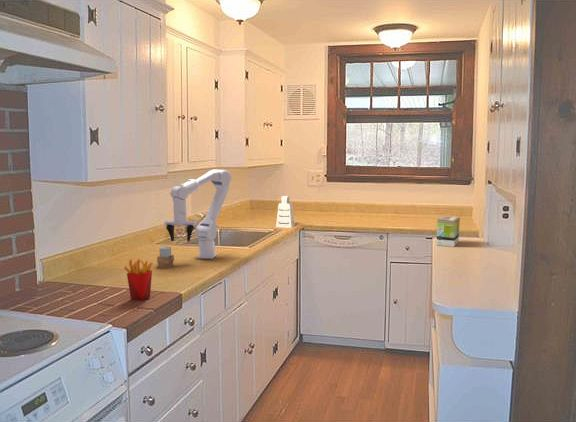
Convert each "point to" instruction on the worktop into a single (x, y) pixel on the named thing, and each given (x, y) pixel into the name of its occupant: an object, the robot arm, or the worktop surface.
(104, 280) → the worktop surface
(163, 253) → the gray cube
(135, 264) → the french fries
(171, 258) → the slab top
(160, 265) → the slab base
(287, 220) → the grater
